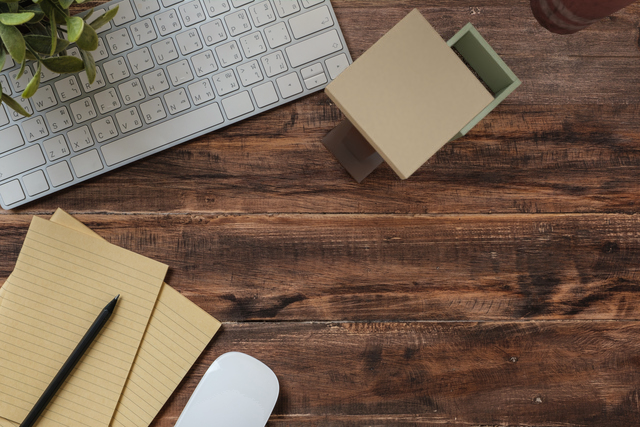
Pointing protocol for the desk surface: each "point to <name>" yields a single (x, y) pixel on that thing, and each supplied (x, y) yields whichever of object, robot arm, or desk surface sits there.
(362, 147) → the post
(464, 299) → the desk surface
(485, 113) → the holder
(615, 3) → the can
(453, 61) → the beige square panel
